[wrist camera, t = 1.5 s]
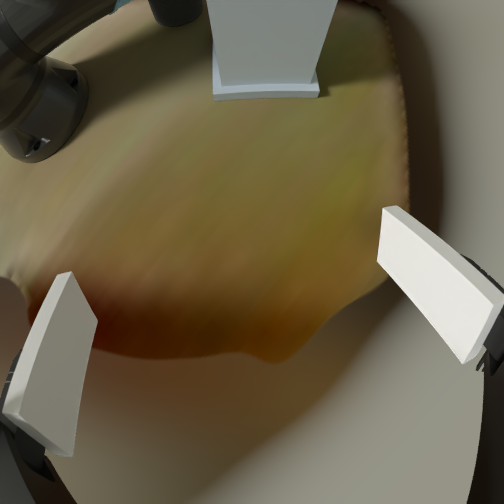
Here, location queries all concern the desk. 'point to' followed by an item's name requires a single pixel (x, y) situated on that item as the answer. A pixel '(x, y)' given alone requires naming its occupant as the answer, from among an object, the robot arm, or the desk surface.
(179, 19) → the travel mug
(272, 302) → the desk surface
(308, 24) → the pedestal
